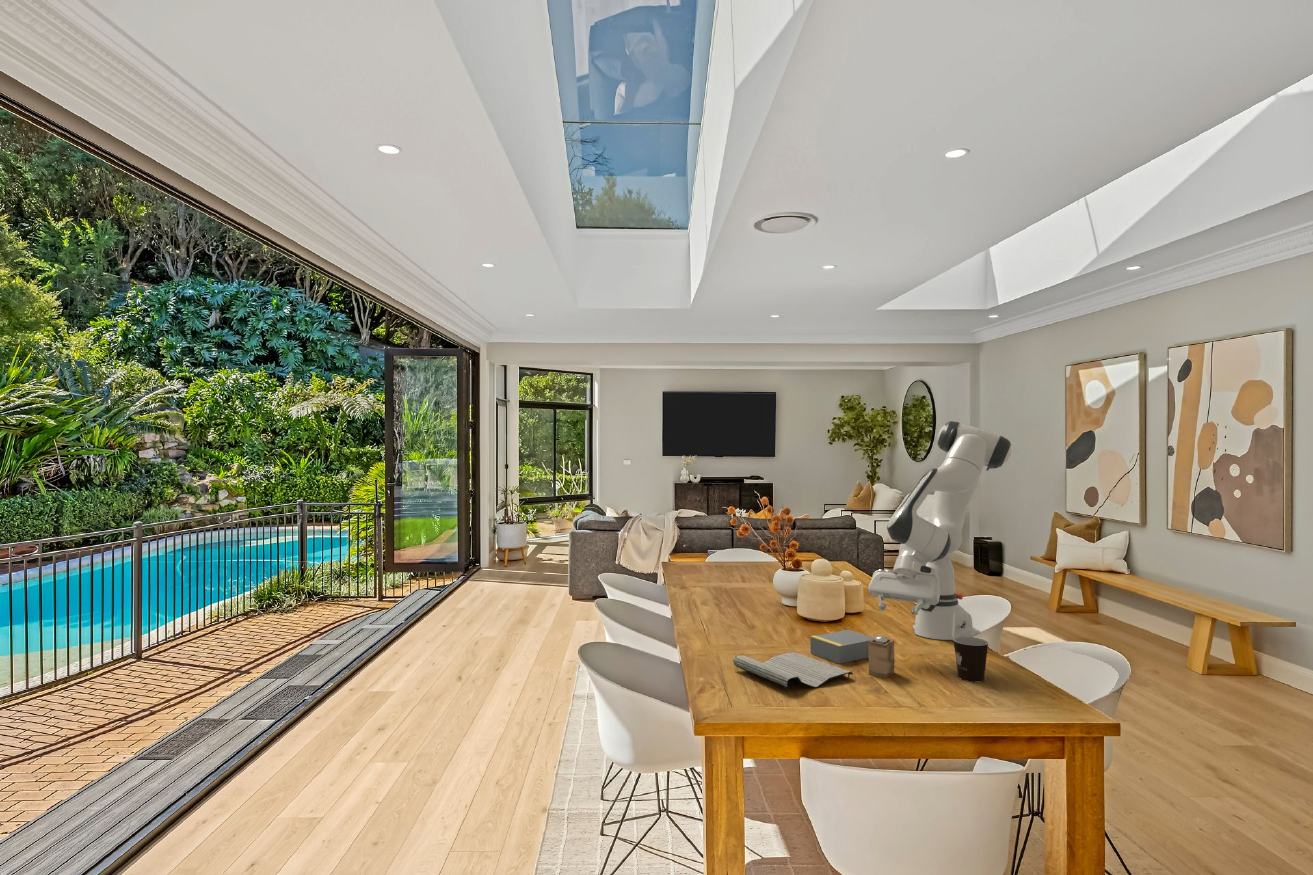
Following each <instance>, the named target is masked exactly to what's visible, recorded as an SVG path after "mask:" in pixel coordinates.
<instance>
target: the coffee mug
mask: <svg viewBox="0 0 1313 875" xmlns="http://www.w3.org/2000/svg"><path fill="white" fill-rule="evenodd" d="M952 641H953V648H954V655H955V662H956V670H957V671H956V672H957V677H958V678H959V679H960V678H961V680H962V681H965V680H968V681H967V682H970V681H973V682H972V683H976V682H975V681H982V680H984V681H985V673H986V665H987V656H988V648H989V642H988V641H987V640H986V639H982V638H978V637H975V636H973V637H956V638H954V639H953V640H952ZM982 682H983V681H982Z"/></svg>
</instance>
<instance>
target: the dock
mask: <svg viewBox="0 0 1313 875" xmlns="http://www.w3.org/2000/svg"><path fill="white" fill-rule="evenodd" d="M874 638H875V636H874V637H873V636H870V635H868V634H863V633H860V632H857V631H853V630H850V629H844V630H839V631H833V632H829V633H823V634H817V635H810V654H811V655H815V656H817V657H819V656H820V657H819V658H822V659H825V660H827V661H831V662H833V663H836V664H841V665H842V664H845V663H850V662H854V660H855V661H858V660H864V659H869V648H868V642H869V641H871V640H872V639H874ZM863 658H864V659H863Z"/></svg>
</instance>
